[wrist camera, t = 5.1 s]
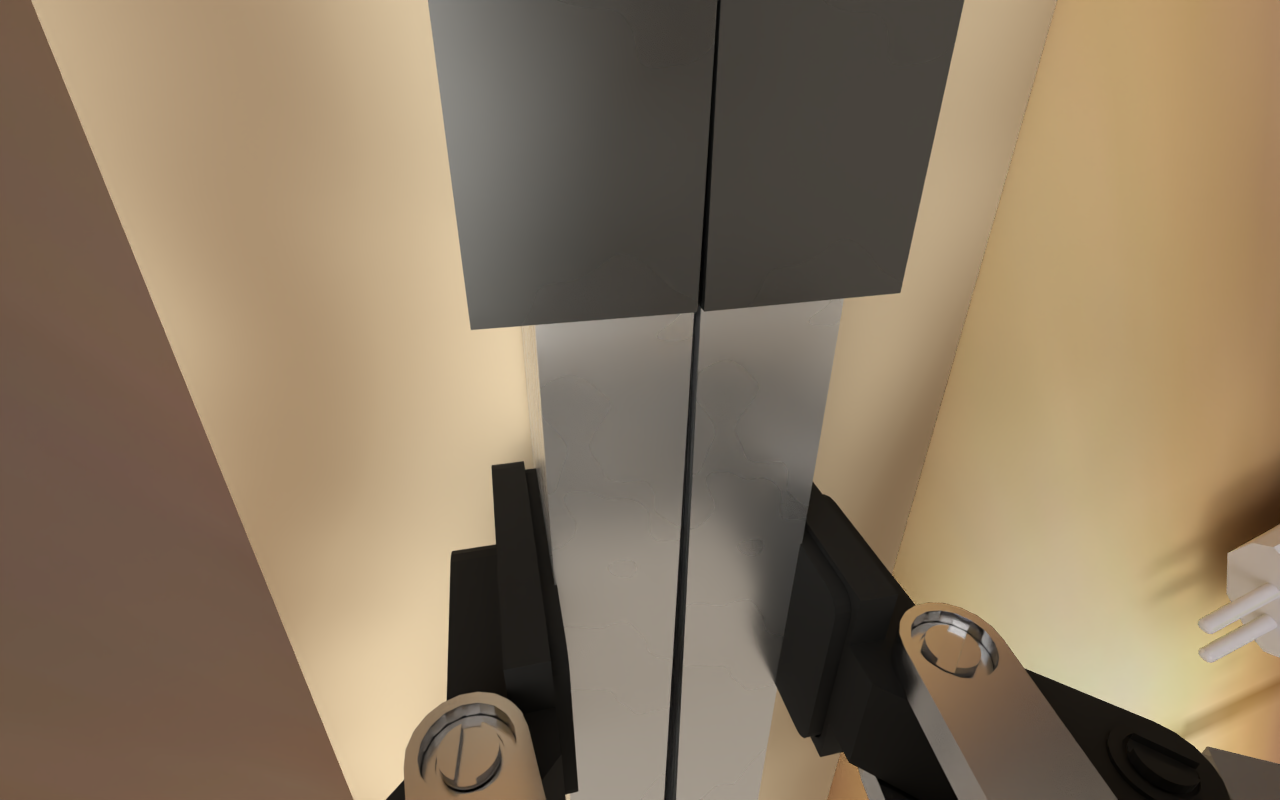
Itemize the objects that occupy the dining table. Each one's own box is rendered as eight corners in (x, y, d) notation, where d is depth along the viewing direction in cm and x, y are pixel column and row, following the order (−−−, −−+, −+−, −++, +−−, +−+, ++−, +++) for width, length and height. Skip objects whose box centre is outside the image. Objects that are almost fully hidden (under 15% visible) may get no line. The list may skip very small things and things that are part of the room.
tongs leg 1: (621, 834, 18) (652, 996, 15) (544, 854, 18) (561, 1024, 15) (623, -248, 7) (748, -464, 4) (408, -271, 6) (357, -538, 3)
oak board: (1054, -176, 9) (1114, -197, 8) (795, 835, 23) (807, 865, 22) (-22, -269, 6) (-95, -314, 6) (425, 934, 21) (423, 973, 20)
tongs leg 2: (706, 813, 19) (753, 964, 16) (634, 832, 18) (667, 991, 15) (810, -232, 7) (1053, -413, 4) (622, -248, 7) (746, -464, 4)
